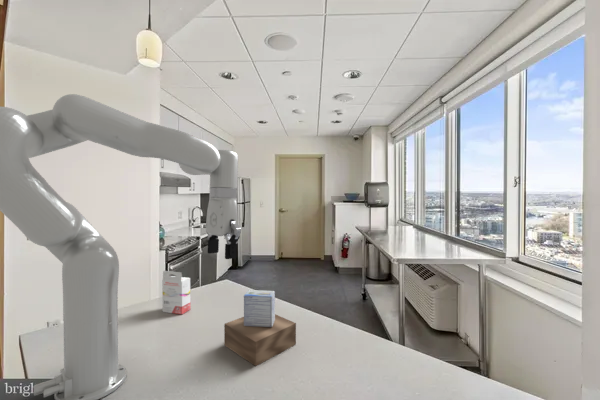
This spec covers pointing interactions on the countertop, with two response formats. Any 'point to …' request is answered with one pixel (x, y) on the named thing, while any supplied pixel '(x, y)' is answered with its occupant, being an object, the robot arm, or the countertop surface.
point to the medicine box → (259, 308)
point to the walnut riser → (259, 339)
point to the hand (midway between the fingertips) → (221, 255)
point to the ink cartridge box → (175, 293)
